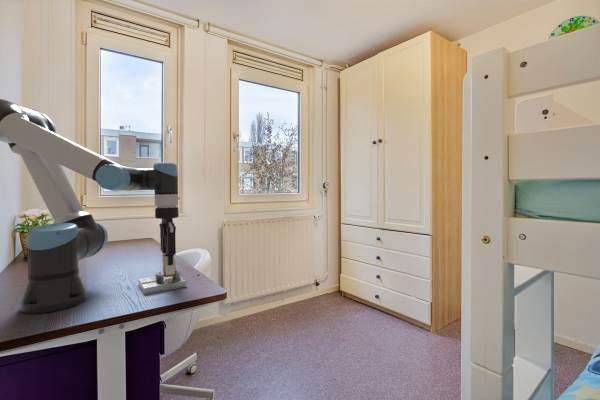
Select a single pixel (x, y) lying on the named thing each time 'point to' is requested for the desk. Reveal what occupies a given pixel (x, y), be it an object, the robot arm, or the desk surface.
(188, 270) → the desk surface
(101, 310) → the desk surface
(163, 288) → the junction plate
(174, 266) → the beige block
